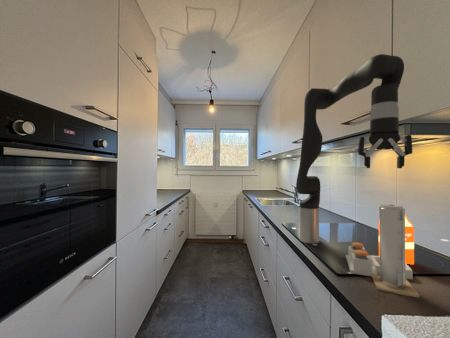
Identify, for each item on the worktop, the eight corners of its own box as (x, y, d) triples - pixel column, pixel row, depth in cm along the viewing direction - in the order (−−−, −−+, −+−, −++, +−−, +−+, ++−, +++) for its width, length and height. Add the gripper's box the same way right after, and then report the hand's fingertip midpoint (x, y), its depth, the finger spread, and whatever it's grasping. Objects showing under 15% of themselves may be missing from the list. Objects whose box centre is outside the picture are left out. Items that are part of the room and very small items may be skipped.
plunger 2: (353, 262, 83) (353, 249, 83) (366, 264, 81) (366, 250, 81) (355, 267, 79) (355, 253, 79) (369, 269, 77) (369, 254, 77)
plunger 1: (350, 253, 91) (350, 241, 91) (362, 255, 89) (362, 242, 89) (351, 257, 87) (351, 244, 87) (364, 259, 85) (364, 246, 85)
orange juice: (396, 255, 94) (395, 208, 94) (414, 264, 85) (414, 212, 85) (378, 255, 94) (377, 208, 94) (394, 264, 85) (394, 213, 85)
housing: (345, 257, 92) (345, 244, 92) (399, 264, 85) (399, 250, 85) (350, 273, 79) (350, 258, 79) (415, 283, 71) (415, 267, 71)
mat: (370, 275, 77) (370, 273, 77) (406, 281, 73) (406, 279, 73) (378, 290, 67) (378, 288, 67) (419, 297, 64) (419, 295, 64)
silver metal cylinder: (381, 285, 69) (380, 205, 69) (378, 276, 75) (377, 202, 75) (408, 291, 66) (407, 207, 66) (402, 281, 72) (402, 204, 71)
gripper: (360, 118, 71) (360, 168, 71) (416, 114, 66) (415, 168, 66) (356, 122, 78) (356, 168, 78) (406, 118, 73) (406, 168, 73)
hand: (383, 168), depth 72 cm, fingers open, 8 cm apart
